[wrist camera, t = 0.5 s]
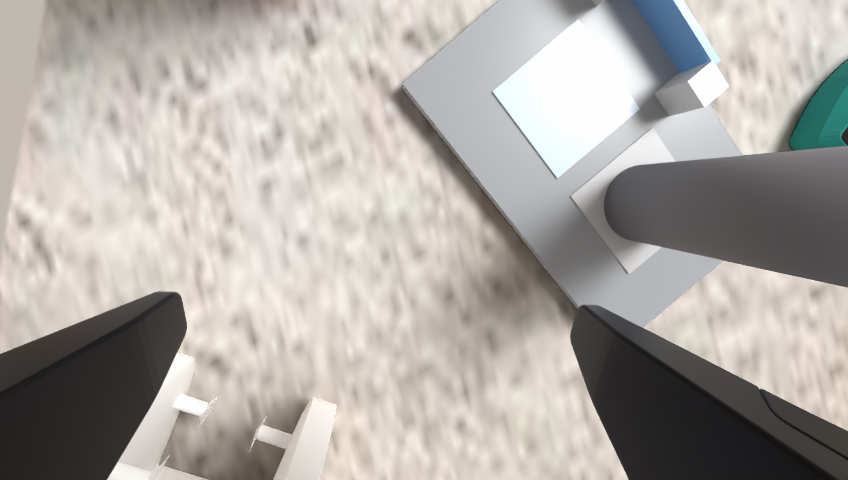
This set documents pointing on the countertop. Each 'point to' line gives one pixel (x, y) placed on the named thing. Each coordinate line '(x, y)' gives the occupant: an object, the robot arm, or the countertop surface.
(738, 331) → the countertop surface
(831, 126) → the digital multimeter
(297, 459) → the cable organizer
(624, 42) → the board
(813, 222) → the grey cylinder
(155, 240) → the countertop surface
